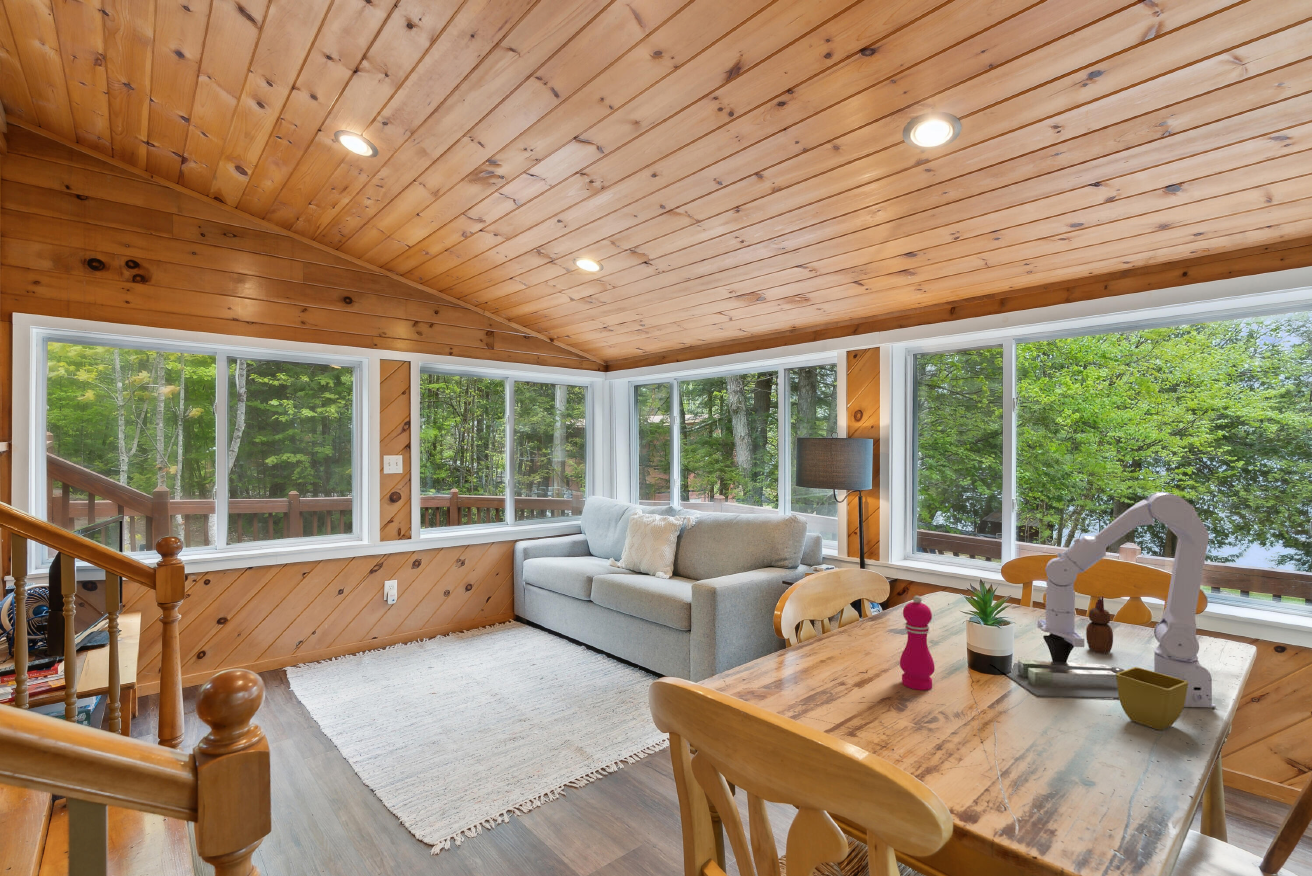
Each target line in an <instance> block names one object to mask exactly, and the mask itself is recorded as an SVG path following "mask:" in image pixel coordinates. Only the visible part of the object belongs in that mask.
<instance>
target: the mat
mask: <svg viewBox="0 0 1312 876" xmlns="http://www.w3.org/2000/svg"><path fill="white" fill-rule="evenodd" d="M1013 663H1014V665H1013V668H1012V672H1011V673H1009V674H1007V676H1006V677H1008V678H1009V679H1011V680H1012V681H1013V682H1014V683H1016V684H1017V685H1019V686H1021V688H1024V689H1025V690H1026V691H1028V692H1029V693H1031V694H1032V695H1034V697H1036V696H1037V697H1036V698H1057V699H1058V698H1062V699H1065V698H1067V699H1091V698H1113V699H1112V700H1119V695H1118V687H1117V688H1095V687H1059V686H1034V685H1033V684H1031V683H1030V682H1028V677H1023V676H1021V675H1020V674H1019V673H1018V662H1013Z"/></svg>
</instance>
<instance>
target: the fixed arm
mask: <svg viewBox="0 0 1312 876" xmlns="http://www.w3.org/2000/svg"><path fill="white" fill-rule="evenodd" d="M1028 682H1030V683H1031V684H1033V685H1034V686H1059V687H1095V688H1117V679H1116V674H1115V673H1113V672H1111V671H1106V670H1068V669H1041V668H1028Z"/></svg>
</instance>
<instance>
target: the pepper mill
mask: <svg viewBox="0 0 1312 876" xmlns="http://www.w3.org/2000/svg"><path fill="white" fill-rule="evenodd" d="M912 600H913V601H912V602H909V603H907V604H905V605H904V607H903V610H902V616H903V618H904V620H905V621H906V622H905V625H904V626H905V628H904V629H905V631H906V632H907V633H906V634H907V641H906V643H905V647H904V649H903V651H902V652H901V656H900V658H899V667H900V669H901V670H902V672H903V673H902V674H901V684H902V685H903V686H905V687H907V688H909V689H913V690H918V691H928V690H931V689H932V688H933V678H932V677H931V676H932V675H933V674H934V672H935V662H934V658H933V656H932V654H931V652H930V650H929V647H928V633H930V625H929V624H930V622H931V621H932V619H933V614H932V610H931V608H930V607H929V606H928V605H926V604H924V603H923V602H922V597H921V596H919V595H914V597H913V598H912Z"/></svg>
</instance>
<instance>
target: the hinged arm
mask: <svg viewBox="0 0 1312 876" xmlns="http://www.w3.org/2000/svg"><path fill="white" fill-rule="evenodd" d="M1017 663H1018V673H1019V674H1020V675H1021V676H1023V677H1028V668H1041V669H1068V670H1106V671H1111V672H1113V673H1115V674H1117V673H1119V672H1122V671H1125V669H1123V668H1122V667H1118V666H1117V667H1116V666H1112V667H1111V666H1109V665H1107V664H1105V663H1104V664H1102V663H1101V664H1100V663H1083V662H1081V663H1080V662H1068V661H1067V662H1052V661H1047V660H1045V661H1043V660H1034V659H1033V660H1032V659H1031V660H1030V659H1017Z"/></svg>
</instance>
